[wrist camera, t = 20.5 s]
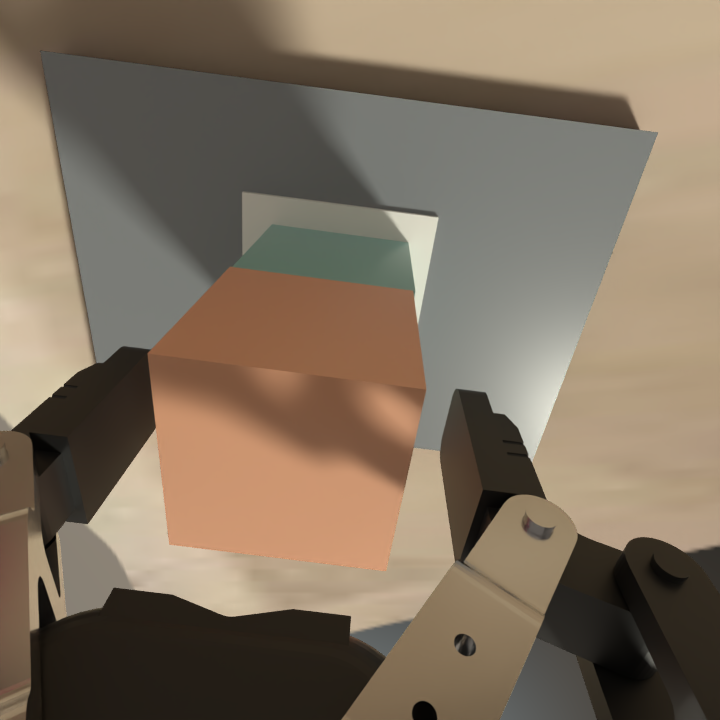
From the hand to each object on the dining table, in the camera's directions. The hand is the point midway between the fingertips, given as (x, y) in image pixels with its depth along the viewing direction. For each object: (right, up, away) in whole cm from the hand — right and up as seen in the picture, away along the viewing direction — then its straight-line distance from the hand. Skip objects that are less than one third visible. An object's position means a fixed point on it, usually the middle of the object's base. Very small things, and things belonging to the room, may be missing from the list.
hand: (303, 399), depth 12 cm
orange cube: (0, +1, +2) cm, 2 cm away
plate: (0, +4, +8) cm, 9 cm away
